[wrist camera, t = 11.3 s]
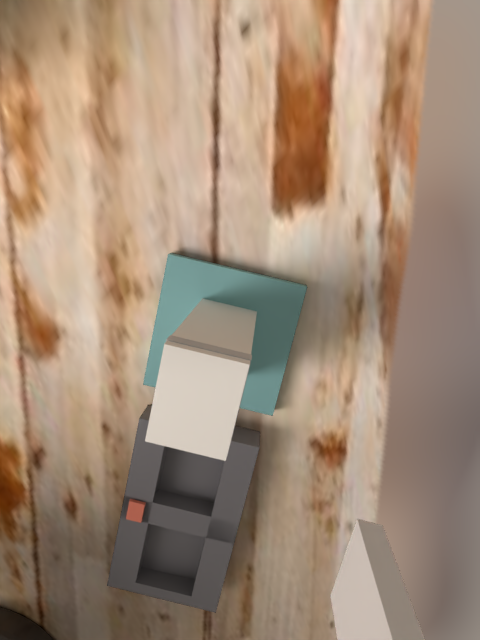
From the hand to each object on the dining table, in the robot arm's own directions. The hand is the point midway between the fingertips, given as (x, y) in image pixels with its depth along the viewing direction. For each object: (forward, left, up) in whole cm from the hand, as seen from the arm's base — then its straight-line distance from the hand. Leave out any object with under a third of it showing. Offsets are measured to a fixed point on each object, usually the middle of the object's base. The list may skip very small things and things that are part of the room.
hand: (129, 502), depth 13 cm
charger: (0, -1, -20) cm, 20 cm away
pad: (0, -1, -21) cm, 21 cm away
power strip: (-15, -1, -21) cm, 26 cm away
